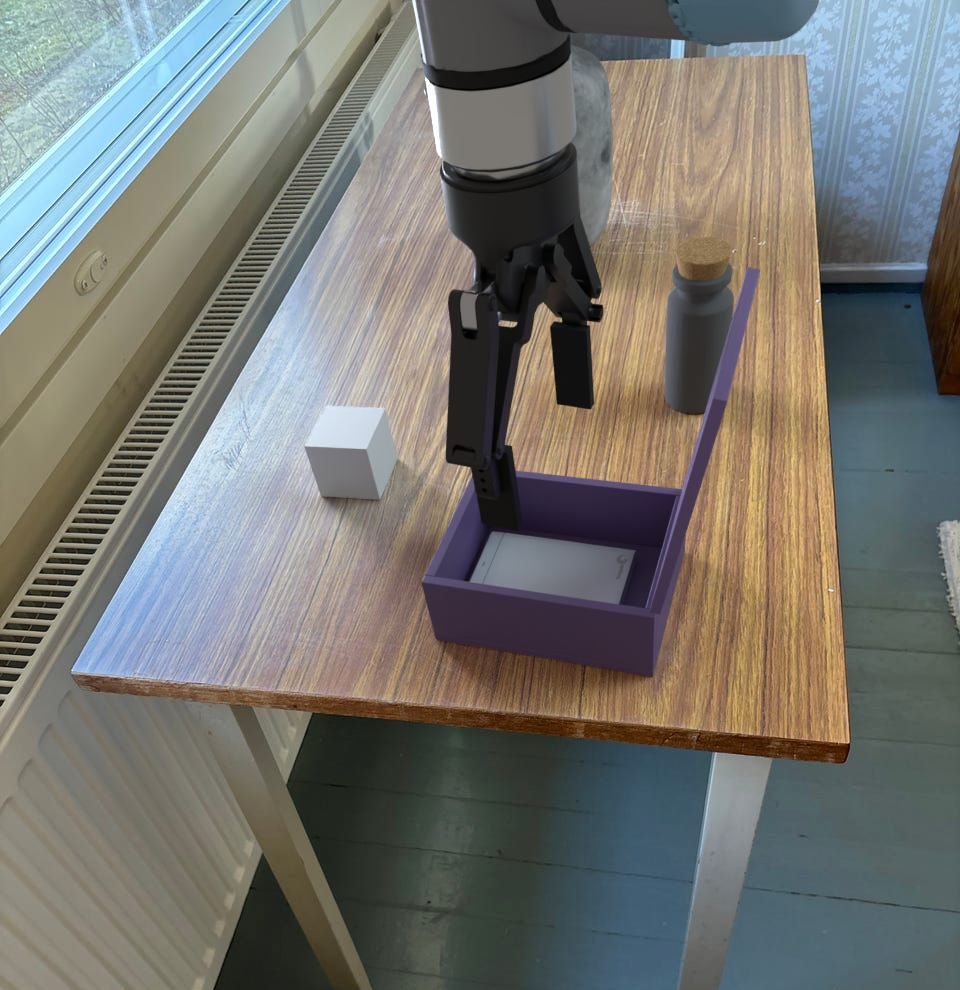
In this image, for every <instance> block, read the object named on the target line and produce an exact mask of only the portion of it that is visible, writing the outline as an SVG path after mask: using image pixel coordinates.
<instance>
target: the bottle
mask: <svg viewBox="0 0 960 990" xmlns="http://www.w3.org/2000/svg"><path fill="white" fill-rule="evenodd" d="M732 253H733V252H732V246H731V245H730V244H729V242H727V241H726V240H724V239H722V238H718V237H714V236H697V237H692V238H689V239H686V240H684V241H682V242H681V243H680V244H679V245H678V246H676V249H675V259H676V264H675V265H674V267H673V269H672V272H671V273H672V274H671V281H672V285H673V286H674V288H673V289H672V290H671V291H670V292H669V293H668V296H667V301H666V302H667V304H666V326H665V327H666V328H665V356H664V357H665V359H664V361H665V362H664V400H665V402H666V404H667V405H668V406H669V407H670V408H671V409H673V410H675V411H677V412H680V413H684V414H689V415H690V414H691V415H692V414H693V415H694V414H695V415H696V414H705V410H706V407H707V403H708V400H709V397H710V393H711V390H712V386H713V383H714V380H715V376H716V373H717V369H718V366H719V363H720V359H721V356H722V352H723V349H724V346H725V342H726V339H727V335H728V332H729V329H730V325H731V322H732V318H733V315H734V303H735V297H734V293H733V291H732V289H730V287H729V284H730V283H731V281H732V279H733V267H732V265H731V263H730V258H731V255H732Z"/></svg>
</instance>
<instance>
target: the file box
mask: <svg viewBox="0 0 960 990" xmlns="http://www.w3.org/2000/svg"><path fill="white" fill-rule="evenodd" d="M515 471H516V478H517V485H518V492H519V500H520V507H521V514H522V521H523V525H522V526H521V528H520V530H519V531H514V530H510V529H505V528H500V527H496V526H491V525H486V524H482V522H481V517H480V511H479V506H478V500H477V495H476V493H475V487H474V486H475V485H474V482H473V481H474V480H473V477H472V476H470V479H469V481H468V483H467V485H466V487H465V490H464V491H463V494H462V496H461V498H460V500H459V502H458V505H457V507H456V508H455V510H454V513H453V514H452V517H451V519H450V521H449V523H448V525H447V527H446V529H445V532H444V534H443V536H442V538H441V540H440V542H439V544H438V546H437V548H436V551H435V553H434V555H433V556H432V558H431V561H430V563H429V565H428V567H427V569H426V571H425V574H424V576H423V578H422V580H421V586H422V590H423V595H424V598H425V602H426V606H427V610H428V614H429V618H430V623H431V626H432V630H433V633H434V638H435V640H437V641H441V642H447V643H453V644H459V645H465V646H471V647H477V648H482V649H488V650H493V651H494V650H495V651H499V652H507V653H511V654H517V655H522V656H523V655H524V656H530V657H535V658H541V659H546V660H552V661H558V662H564V663H569V664H575V665H576V664H577V665H582V666H589V667H593V668H599V669H606V670H611V671H617V672H623V673H627V674H634V675H640V676H647V677H651V678H653V677H654V674H655V671H656V667H657V663H658V659H659V655H660V652H661V651H660V650H661V647H662V644H663V639H664V634H665V630H666V627H667V624H668V619H669V615H670V611H671V607H672V604H673V599H674V596H675V592H676V588H677V584H678V580H679V576H680V572H681V568H682V564H683V560H684V556H685V553H686V541H687V538H686V537H687V534H686V535H685V538H684V541H683V545H682V548H681V551H680V554H679V557H678V561H677V564H676V567H675V570H674V573H673V576H672V580H671V583H670V586H669V589H668V592H667V596H666V599H665V602H664V605H663V608H662V611H661V614H660V615H659V614H655V613H652V612H650V607H651V603H652V600H653V596H654V592H655V589H656V585H657V581H658V577H659V574H660V570H661V566H662V563H663V559H664V555H665V552H666V548H667V544H668V541H669V537H670V533H671V530H672V526H673V522H674V519H675V515H676V511H677V507H678V504H679V500H680V496H681V493H682V489H683V488H676V487H667V486H660V485H659V486H657V485H648V484H640V483H630V482H624V481H623V482H622V481H614V480H606V479H605V480H604V479H596V478H595V479H594V478H588V477H587V478H586V477H577V476H568V475H561V474H552V473H551V474H550V473H541V472H532V471H523V470H516V469H515ZM493 531H494V532H502V533H510V534H518V535H525V536H533V537H540V538H548V539H555V540H562V541H570V542H577V543H584V544H591V545H599V546H606V547H614V548H621V549H628V550H636V557H637V561H636V565H635V568H634V571H633V575H632V578H631V581H630V585H629V588H628V591H627V594H626V598H625V601H624V604H623V605H619V604H613V603H606V602H599V601H593V600H586V599H579V598H573V597H566V596H559V595H553V594H546V593H539V592H533V591H526V590H519V589H513V588H506V587H500V586H493V585H486V584H480V583H473V582H470V580H471V577H472V575H473V573H474V570H475V568H476V566H477V564H478V561H479V559H480V557H481V555H482V552H483V550H484V548H485V546H486V543H487V541H488V539H489V536H490V534H491V533H492V532H493Z"/></svg>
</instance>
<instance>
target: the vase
mask: <svg viewBox="0 0 960 990" xmlns="http://www.w3.org/2000/svg"><path fill="white" fill-rule="evenodd" d="M570 44H571V52H572V67H573V81H574V96H575V111H576V126H577V130H576V134H575V137H574V138H573V139H572V141H571V142H572V143H573V144H574V146H575V147H576V150H577V163H578V181H579V198H580V215H581V220H582V223H583V226H584V229H585V232H586V236H587V239H588V242H589V245H590V248H592V247H593V246H594V245H595V244H596V243H598V241H599V239H600V238H601V237H602V236H603V233H604V232H605V230H606V227H607V225H608V221H609V217H610V212H611V206H612V205H611V204H612V193H613V171H614V159H613V158H614V135H613V134H614V133H613V132H614V131H613V113H612V101H611V100H612V99H611V91H610V85H609V83H610V82H609V80H608V76H607V72H606V70H605V67H604V65H603V64H602V62H601V61H600V60H599V58H598V57H597V56H595V55H594V54H592V53H591V52H590V51H589V50H587V49H585V48H582V47H579V46H576V45H572V43H571V42H570Z"/></svg>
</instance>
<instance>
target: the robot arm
mask: <svg viewBox="0 0 960 990" xmlns="http://www.w3.org/2000/svg"><path fill="white" fill-rule="evenodd" d="M411 2H412V7H413V12H414V16H415V22H416V27H417V31H418V32H417V33H418V37H419V43H420V48H421V53H420V58H421V62H422V71H423V75H424V78H425V84H424V87H423V92H424V97H425V98H426V99H427V100H428V104H429V109H430V110H429V111H430V116H431V123H432V129H433V135H434V143H435V148H436V153H437V155H438V156H439V158H440V159H441V160H442V162H441V165H440V167H439V178H440V184H441V189H442V195H443V201H444V202H443V203H444V208H445V214H446V220H447V225H448V228H449V230H450V231H451V233H452V235H453V236H454V237H455V238H456V239H458V241H460V242H462V244H464V245H465V246H466V247H467V248H468V249H469V250H470V251H471V252H472V254H473V256H474V260H473V261H474V268H473V269H474V270H473V285H472V286H471V287H470V288H469V289H468V290H464V289H457V288H453V289H451V290H450V292H449V294H448V298H447V310H448V318H449V326H450V354H449V355H450V357H449V374H448V375H449V376H448V395H447V396H448V397H447V414H446V434H445V435H446V439H445V461H446V463H447V464H451V465H455V466H461V467H465V468H466V467H467V468H470V471H471V477H473V480H474V481H473V482H474V485H475V486H474V487H475V493H476V495H477V500H478V506H479V511H480V517H481V522H482V524H486V525H491V526H496V527H500V528H505V529H510V530H514V531H519V530H520V528H521V526H522V525H523V521H522V514H521V507H520V500H519V492H518V485H517V478H516V471H517V470H516V464H515V458H514V450H513V445H509V444H506V440H507V434H508V428H509V423H510V421H509V420H510V417H511V412H512V411H511V410H512V404H513V399H514V393H515V387H516V381H517V377H518V376H517V375H518V369H519V363H520V357H521V352H522V347H523V346H525V345H526V344H528V343H529V342H530V341H531V338H532V335H533V329H534V328H533V327H534V321H535V317H536V312H537V310H538V308H539V306H540V305H542V304H544V305H545V306H546V308H548V310H549V311H550V312H551V313H552V314H553V316H554V317H555V318H559V319H561V321H556V320H554V321H553V322H552V323H551V325H550V326H549V331H550V332H549V333H550V343H551V354H552V364H553V365H552V366H553V377H554V378H553V379H554V389H555V399H556V405H558V406H566V407H571V408H577V409H585V410H589V411H591V410H592V408H593V407H594V405H595V392H594V378H593V377H594V374H593V355H592V338H591V337H592V336H591V325H588V322H592V323H601V322H602V320H603V317H604V310H605V309H604V304H600V303H599V304H598V303H593V302H592V299H595V300H599V299H600V297H601V295H602V292H603V285H602V281H601V277H600V274H599V270H598V267H597V265H596V261H595V258H594V255H593V251H592V249H591V248H592V247H590V245H589V242H588V239H587V236H586V232H585V229H584V226H583V223H582V220H581V215H580V198H579V181H578V163H577V150H576V147H575V146H574V144H573V143H572V142H571V141H572V139H573V138H574V137H575V134H576V130H577V126H576V111H575V96H574V81H573V67H572V52H571V45H572V43H571V34H579V33H580V34H591V35H592V34H593V35H605V36H619V37H633V38H644V39H646V38H647V39H660V40H673V41H687V42H696V43H697V44H698V45H702V46H709V45H710V46H711V47H724V46H729V45H730V44H740V43H741V44H743V43H744V44H745V43H769V42H780V41H783V40H786V39H788V38H791V37H793V36H794V35H796V34H797V33H798V32H799V31H801V30H802V28H804V27H805V26H806V25H807V23H808V22H809V20H810V19H811V18H812V17H813V15H814V14H815V13H816V11H817V10H818V9H817V8H818V6H819V3H820V0H411ZM570 43H571V44H570ZM501 321H502V322H512V323H516V324H515V325H514V326H506V325H505V326H504V325H500V324H499V323H500V322H501ZM515 470H516V471H515Z"/></svg>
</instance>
